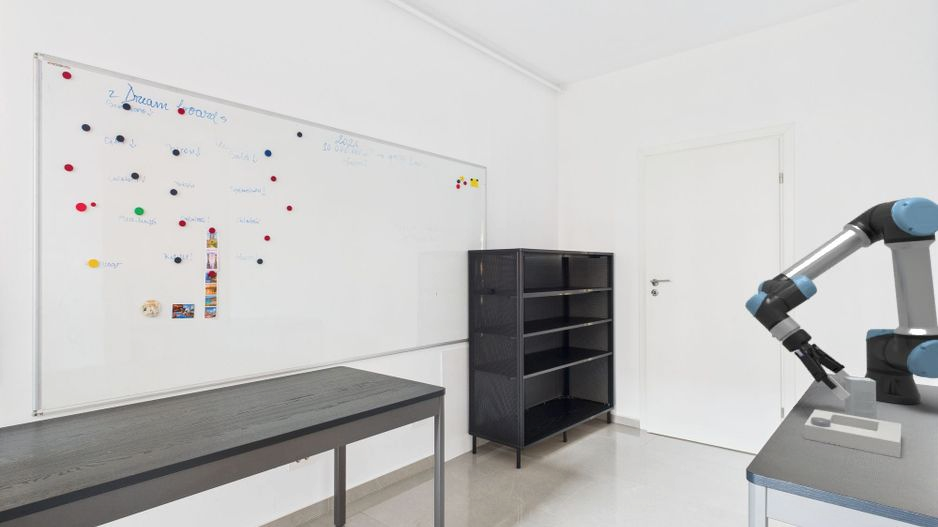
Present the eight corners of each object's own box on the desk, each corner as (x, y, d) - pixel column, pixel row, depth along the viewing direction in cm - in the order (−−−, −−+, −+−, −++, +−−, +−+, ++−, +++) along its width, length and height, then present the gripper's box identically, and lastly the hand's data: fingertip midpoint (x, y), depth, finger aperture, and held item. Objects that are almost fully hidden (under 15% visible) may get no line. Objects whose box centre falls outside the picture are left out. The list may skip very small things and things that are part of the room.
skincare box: (869, 419, 136) (869, 377, 136) (876, 424, 132) (876, 381, 132) (844, 417, 138) (843, 376, 138) (850, 422, 134) (850, 379, 134)
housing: (814, 421, 134) (814, 405, 134) (901, 437, 121) (901, 419, 121) (804, 438, 121) (804, 419, 121) (900, 458, 108) (900, 437, 108)
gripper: (794, 339, 157) (851, 394, 146) (766, 346, 141) (828, 409, 130) (813, 324, 153) (873, 380, 142) (787, 331, 137) (852, 394, 126)
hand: (852, 394), depth 136 cm, fingers open, 13 cm apart
